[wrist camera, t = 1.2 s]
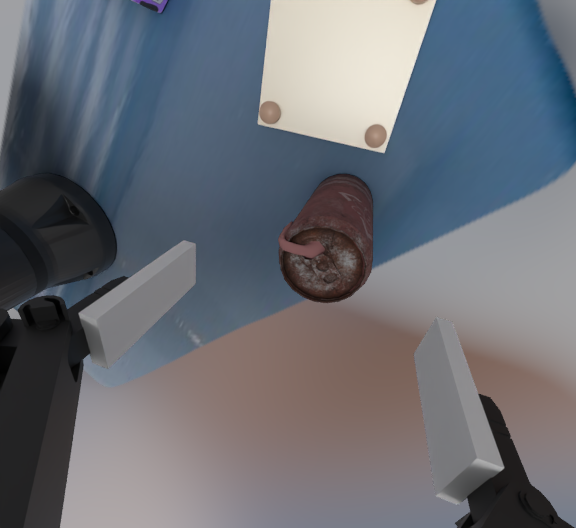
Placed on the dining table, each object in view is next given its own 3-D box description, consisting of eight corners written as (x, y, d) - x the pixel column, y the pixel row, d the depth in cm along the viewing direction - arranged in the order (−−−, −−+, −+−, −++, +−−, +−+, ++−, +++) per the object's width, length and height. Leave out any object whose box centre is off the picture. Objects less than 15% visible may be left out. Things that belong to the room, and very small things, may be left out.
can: (322, 162, 28) (285, 204, 16) (383, 185, 27) (391, 245, 16) (303, 217, 31) (260, 285, 19) (357, 238, 31) (347, 321, 19)
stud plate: (261, 123, 28) (254, 124, 26) (281, -51, 21) (274, -64, 20) (383, 151, 26) (384, 154, 24) (443, -27, 20) (450, -40, 18)
